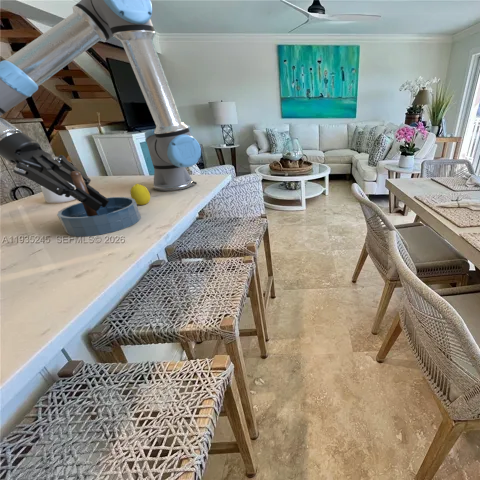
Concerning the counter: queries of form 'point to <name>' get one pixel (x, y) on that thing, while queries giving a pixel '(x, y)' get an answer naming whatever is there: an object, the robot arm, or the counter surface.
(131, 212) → the bowl
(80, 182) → the brown wooden pestle
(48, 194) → the mug
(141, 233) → the counter surface
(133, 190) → the lemon
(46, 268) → the counter surface
